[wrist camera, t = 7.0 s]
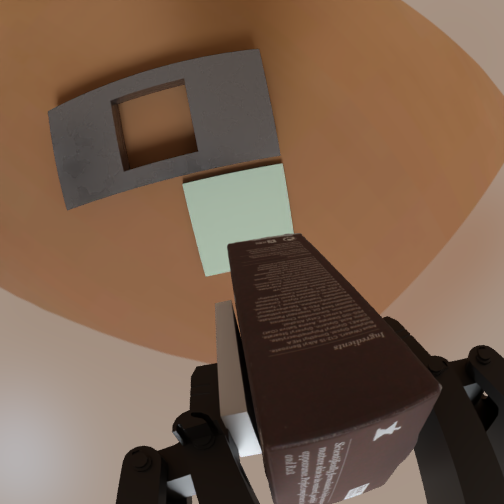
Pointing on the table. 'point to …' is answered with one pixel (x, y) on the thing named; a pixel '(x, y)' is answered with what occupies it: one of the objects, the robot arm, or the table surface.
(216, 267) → the pad
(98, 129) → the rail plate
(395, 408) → the box
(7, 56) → the table surface
